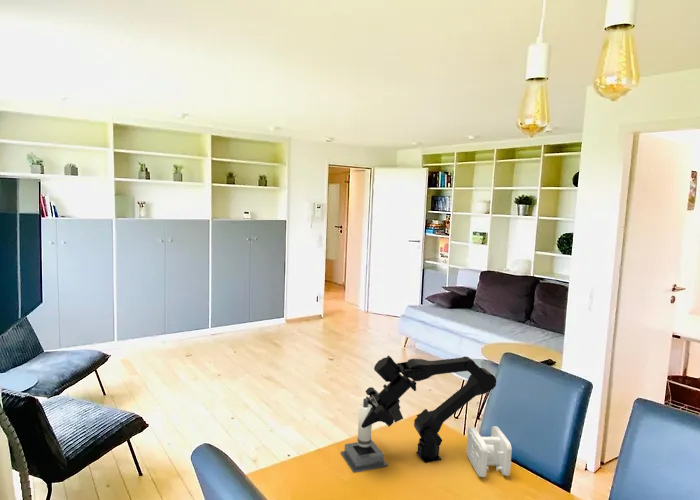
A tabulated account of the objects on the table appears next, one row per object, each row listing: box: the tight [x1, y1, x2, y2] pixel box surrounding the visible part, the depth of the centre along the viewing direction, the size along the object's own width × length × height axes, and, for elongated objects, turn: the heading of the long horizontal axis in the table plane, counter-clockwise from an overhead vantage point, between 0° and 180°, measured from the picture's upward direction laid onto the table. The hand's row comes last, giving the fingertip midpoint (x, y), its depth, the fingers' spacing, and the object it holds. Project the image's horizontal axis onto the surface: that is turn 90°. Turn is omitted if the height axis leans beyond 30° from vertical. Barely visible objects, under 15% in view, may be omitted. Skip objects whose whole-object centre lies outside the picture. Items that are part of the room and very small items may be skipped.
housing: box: [340, 439, 389, 474], centre depth 155 cm, size 12×12×4 cm
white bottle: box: [357, 397, 373, 447], centre depth 153 cm, size 5×5×15 cm
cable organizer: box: [466, 425, 513, 478], centre depth 152 cm, size 15×11×12 cm
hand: (360, 423), depth 153 cm, fingers closed on white bottle, 4 cm apart
